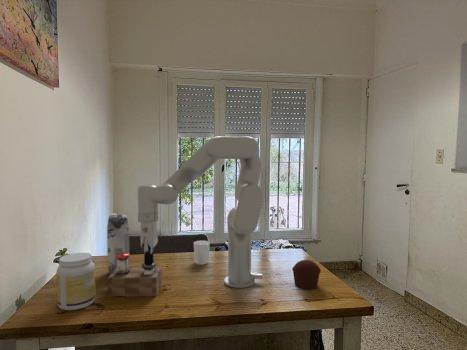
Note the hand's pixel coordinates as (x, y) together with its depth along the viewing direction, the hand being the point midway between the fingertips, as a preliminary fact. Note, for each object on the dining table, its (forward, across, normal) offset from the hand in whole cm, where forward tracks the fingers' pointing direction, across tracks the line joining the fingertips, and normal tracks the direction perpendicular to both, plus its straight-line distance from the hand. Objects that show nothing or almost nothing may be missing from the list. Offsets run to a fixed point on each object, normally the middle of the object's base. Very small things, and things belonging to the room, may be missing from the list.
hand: (149, 263), depth 127 cm
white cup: (+11, +32, -19) cm, 39 cm away
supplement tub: (+11, -11, +23) cm, 28 cm away
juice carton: (+11, +18, +17) cm, 27 cm away
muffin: (+11, +2, -63) cm, 64 cm away
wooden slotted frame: (+10, 0, +5) cm, 12 cm away
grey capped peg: (+10, 0, 0) cm, 10 cm away
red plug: (+6, 0, +10) cm, 12 cm away
